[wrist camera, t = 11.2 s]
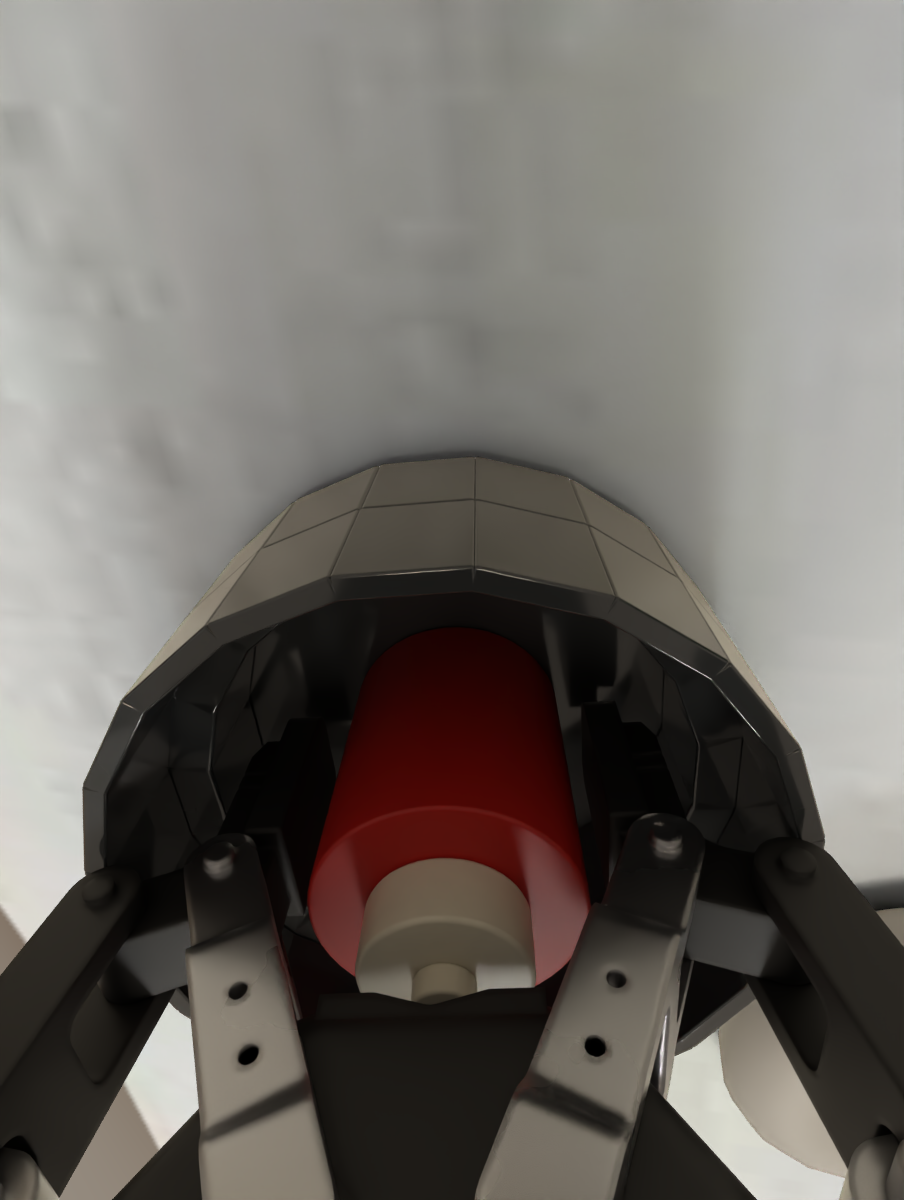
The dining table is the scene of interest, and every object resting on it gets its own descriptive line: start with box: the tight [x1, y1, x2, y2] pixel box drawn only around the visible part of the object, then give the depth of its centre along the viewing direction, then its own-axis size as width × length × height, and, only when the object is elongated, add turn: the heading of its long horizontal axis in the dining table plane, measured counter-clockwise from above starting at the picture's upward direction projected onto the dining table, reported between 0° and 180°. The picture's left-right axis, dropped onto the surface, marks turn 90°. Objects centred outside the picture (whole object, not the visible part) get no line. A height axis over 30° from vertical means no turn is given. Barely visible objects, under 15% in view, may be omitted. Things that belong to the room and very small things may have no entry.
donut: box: [718, 907, 904, 1178], centre depth 20 cm, size 10×4×10 cm
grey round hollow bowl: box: [83, 457, 825, 1056], centre depth 15 cm, size 12×12×6 cm
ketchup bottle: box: [307, 627, 591, 1005], centre depth 14 cm, size 5×5×8 cm
